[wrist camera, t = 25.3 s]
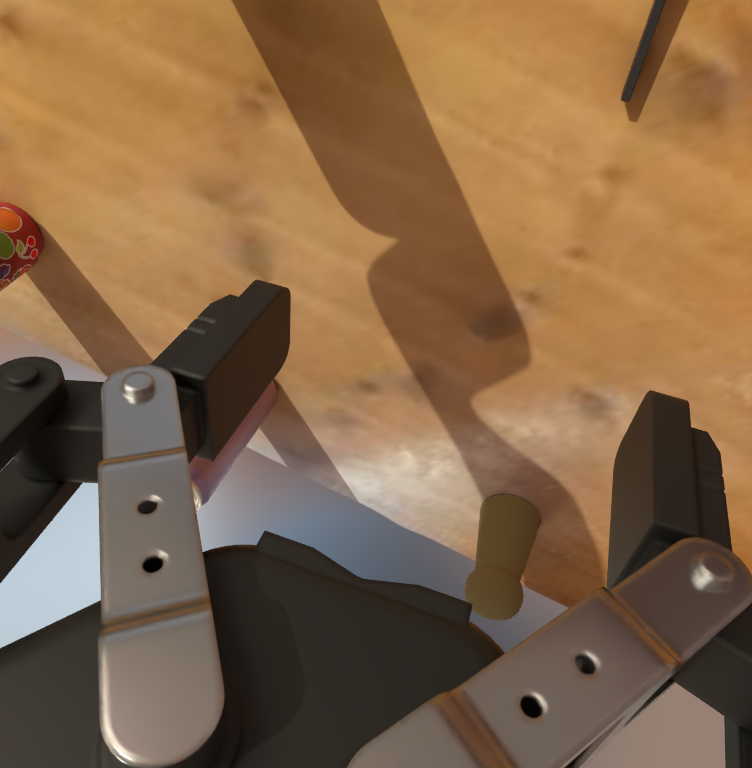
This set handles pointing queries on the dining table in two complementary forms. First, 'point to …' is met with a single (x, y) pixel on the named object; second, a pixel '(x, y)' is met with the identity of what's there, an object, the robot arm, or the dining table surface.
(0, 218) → the smoothie
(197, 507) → the beverage can
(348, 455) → the dining table surface
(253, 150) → the dining table surface
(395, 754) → the robot arm
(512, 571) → the cork
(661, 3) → the spoon
